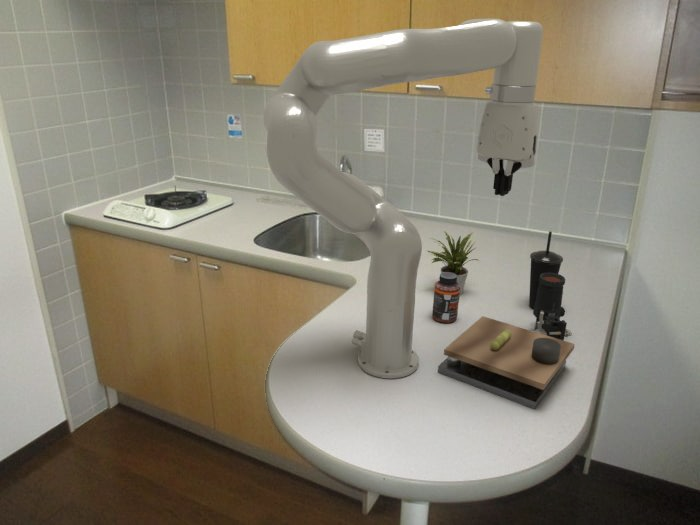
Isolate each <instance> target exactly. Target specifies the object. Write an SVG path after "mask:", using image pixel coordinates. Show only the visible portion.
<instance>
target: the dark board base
mask: <svg viewBox="0 0 700 525" xmlns="http://www.w3.org/2000/svg"><path fill="white" fill-rule="evenodd" d="M446 357H447V358H445V359H444V360H443V361H442V362H440V364H438V366H437V373H438V374H441V375H442V376H443V375H444V376H446V377H448V378H452V379H455V380H457V381H460V382H463V383H465V384H467V385H469V386H472V387H475V388H478V389H480V390H483V391H486V392H488V393H491V394H494V395H497V396H498V397H502V398H504V399H507V400H510V401H512V402H514V403H517V404H520V405H522V406H525V407H527V408H530V409H532V410H533V409H534V410H535V409H536V408H537V406H538V405H539V404H540V403H541V401H542V400H543V399H544V397H545V396H546V394H547V393H548V392H549V390H550V389H551V387H552V386H553V384H555V382H556V381H557V379H558V377H559V376H560V375H561V374H562V373H563V370H564V369H565V368H566V365H567V359H566V360H565V362H564V363H563V364H562V366H561V367H560V368H559V370H558V371H557V372H556V374H555V375H554V376H553V378H552V379H551V381H550V382H549V383H548V385H547V386H546V387H545V389H544V390H542V389H539V388H536V387H534V386H531V385H528V384H525V383H522V382H520V381H517V380H514V379H511V378H508V377H505V376H503V375H500V374H497V373H494V372H491V371H489V370H486V369H483V368H480V367H477V366H474V365H472V364H469V363H466V362H463V361H460V360H458V359H455V358H452V357H449V356H446Z"/></svg>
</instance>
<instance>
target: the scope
mask: <svg viewBox="0 0 700 525" xmlns="http://www.w3.org/2000/svg"><path fill="white" fill-rule="evenodd" d="M539 281H540V283H539V287H538V292H537V297H536V302H535V304H534V310H533V316H534V317H535V326H534V332H537V333H540V334H544V335H547V336H550V337H554V338H557V339H560V340H563V341H565V338H569V337H571V336H572V334H573V332H572V329H567V322H566V321H565V320H564V319H562V320H561V318H563V317H564V316H565V314H566V309H565V308H564V306H562V303H563V302H562V301H563V294H564V285H566V284H565V283H566V278H565V276H563V275H561V274H559V273H558V274H556V273H542V274H541V275H540V277H539Z"/></svg>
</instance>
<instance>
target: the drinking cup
mask: <svg viewBox="0 0 700 525" xmlns="http://www.w3.org/2000/svg"><path fill="white" fill-rule="evenodd" d="M551 240H552V231H548V236H547V241H546V243H547V244H546V248H545V250H537V251H533V252H531V253H530V255H529V257H530V258H529V259H530V272H529V274H530V275H529V297H528V298H529V299H528V300H529V301H528V307H529V308H530V309H531V310H533V311H534V304H535V302H536V297H537V292H538V287H539V283H540V281H539V277H540V275H541V274H542V273H556V274H559V272H560V269H561V265H562V263H563V262H564V258H563V256H562V255H560V254H558V253H556V252H553V251H551V250H550V247H551Z"/></svg>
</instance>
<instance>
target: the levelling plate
mask: <svg viewBox="0 0 700 525" xmlns="http://www.w3.org/2000/svg"><path fill="white" fill-rule="evenodd" d="M534 331H535V330H534ZM534 331H533V330H529V329H526V328H523V327H521V326H516V325H513V324H510V323H507V322H502V321H500V320H496V319H494V318H491V317H486V316H484V315H483V316H481V317H480V318H478V319H477V321H475V322H474V323H473V324H471V326H469V327H468V328H467V329H466V330H464V332H462V333H461V334H460V335H459V336H458V337H456V339H454V340H453V341H452V342H451V343H450V344H449V345H448V346H446V347H445V348H444V349H443V356H446V357H448V356H449V357H452V358H455V359H458V360H460V361H463V362H466V363H469V364H472V365H474V366H477V367H480V368H483V369H486V370H489V371H491V372H494V373H497V374H500V375H503V376H505V377H508V378H511V379H514V380H517V381H520V382H522V383H525V384H528V385H531V386H534V387H536V388H539V389H542V390H544V389H545V387H546V386H547V385H548V383H549V382H550V381H551V379H552V378H553V376H554V375H555V374H556V372H557V371H558V370H559V368H560V367H561V366H562V364H563V363H564V362H565V360H566V361H567V359H568V357H569V356H570V355H571V354H572V352H573V351H574V349H575V343H573V342H571V341H567V340H564V341H563V340H560V339H557V338H554V337H550V336H547V335H544V334H540V333H537V332H534Z"/></svg>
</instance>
